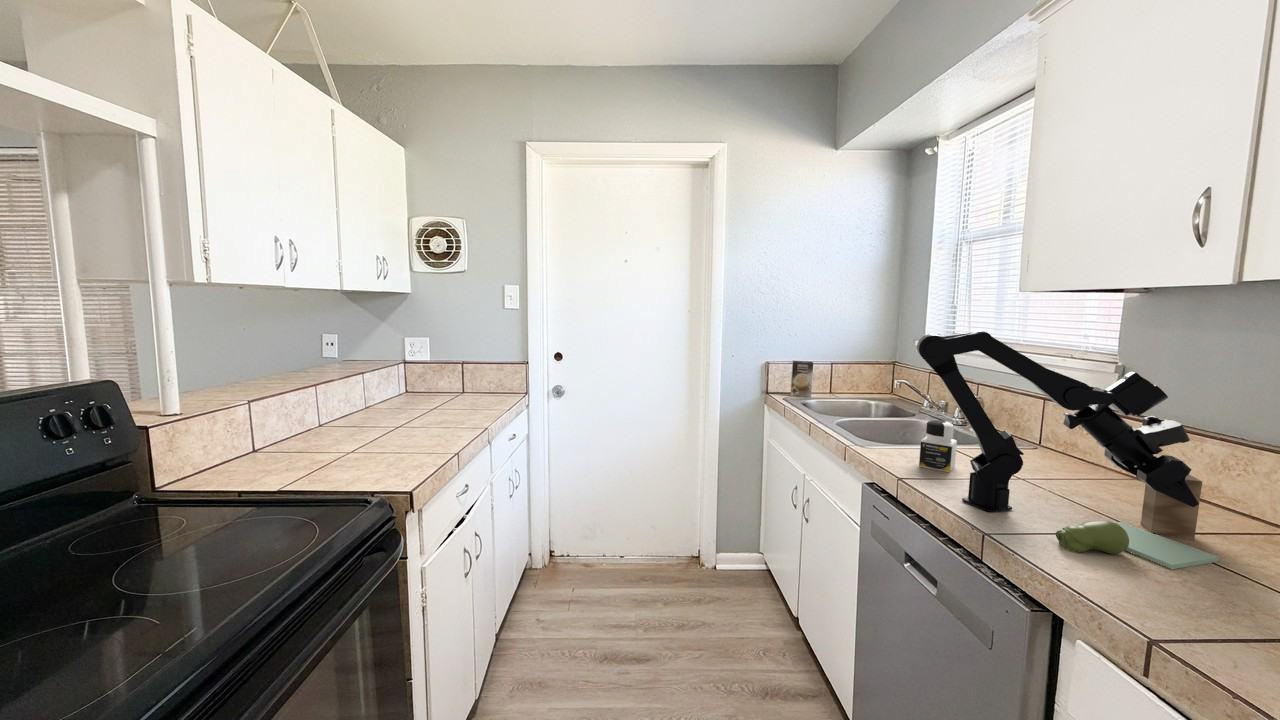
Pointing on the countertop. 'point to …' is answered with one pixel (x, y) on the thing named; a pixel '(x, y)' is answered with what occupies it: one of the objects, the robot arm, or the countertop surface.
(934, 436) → the medicine bottle
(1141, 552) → the mat
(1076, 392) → the robot arm
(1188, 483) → the block
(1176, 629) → the countertop surface
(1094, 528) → the pear
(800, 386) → the coffee box
